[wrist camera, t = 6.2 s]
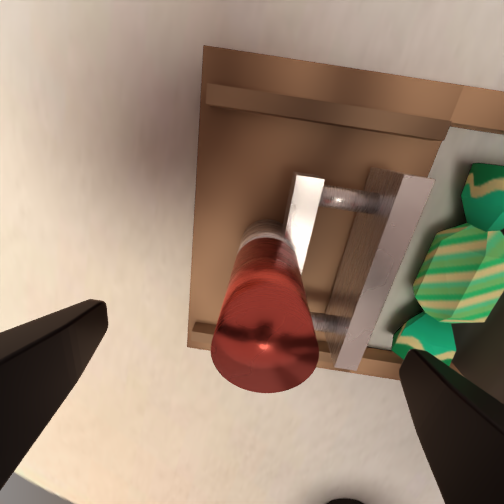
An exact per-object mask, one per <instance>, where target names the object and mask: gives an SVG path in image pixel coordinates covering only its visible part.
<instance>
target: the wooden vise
mask: <svg viewBox="0 0 504 504" xmlns="http://www.w3.org/2000/svg"><path fill="white" fill-rule="evenodd" d="M450 126H451V127H458V128H464V129H471V130H477V131H484V132H490V133H497V134H503V135H504V92H502V91H496V90H489V89H483V88H477V87H470V86H464V85H457V84H451V83H444V82H438V81H431V80H425V79H418V78H412V77H406V76H399V75H393V74H386V73H380V72H373V71H367V70H360V69H354V68H347V67H341V66H335V65H328V64H322V63H315V62H309V61H302V60H296V59H289V58H283V57H276V56H270V55H264V54H257V53H251V52H244V51H238V50H231V49H225V48H218V47H212V46H205V45H204V46H203V64H202V83H201V101H200V119H199V137H198V156H197V174H196V192H195V210H194V229H193V247H192V265H191V283H190V302H189V320H188V338H187V347H190V348H197V349H203V350H210V351H211V342H212V338H213V335H214V332H215V328H216V325H217V321H218V318H219V314H220V311H221V308H222V304H223V301H224V297H225V294H226V290H227V287H228V284H229V280H230V277H231V273H232V270H233V266H234V263H235V259H236V256H237V253H238V249H239V246H240V242H241V239H242V236H243V233H244V231H245V230H246V229H247V228H248V227H249V226H250V225H251V224H252V223H254V222H256V221H259V220H264V219H269V220H275V221H278V222H280V223H281V224H283V222H284V217H285V212H286V207H287V202H288V197H289V192H290V187H291V182H292V177H293V172H301V173H307V174H314V175H319V176H320V177H322V178H323V179H325V181H324V185H330V186H337V187H343V188H349V189H356V190H362V191H364V188H365V184H366V181H367V178H368V175H369V172H370V168H371V167H374V168H381V169H387V170H393V171H398V172H403V173H408V174H412V175H417V176H422V177H426V178H427V177H428V174H429V172H430V169H431V167H432V164H433V162H434V159H435V157H436V154H437V152H438V149H439V147H440V144H441V142H442V141H444V139H445V137H446V134H447V132H448V129H449V127H450ZM356 213H357V212H352V211H346V210H340V209H333V208H327V207H320V206H318V209H317V213H316V217H315V222H314V226H313V230H312V234H311V238H310V242H309V246H308V250H307V254H306V258H305V262H304V266H303V270H302V274H301V277H302V281H303V285H304V289H305V293H306V297H307V301H308V305H309V309H310V312H317V313H323V314H325V313H326V310H327V307H328V303H329V300H330V297H331V294H332V291H333V287H334V284H335V281H336V278H337V274H338V271H339V268H340V265H341V262H342V258H343V255H344V252H345V249H346V246H347V242H348V239H349V236H350V233H351V229H352V226H353V223H354V220H355V217H356ZM500 231H501V232H502V234H503V235H504V228H503V229H502V230H500ZM451 326H452V330H453V335H454V340H455V345H456V352H455V355H454V357H453V359H452V361H451V364H450V366H449V367H451V368H452V369H454V370H455V371H457V372H458V373H459V374H461V375H462V376H464V377H465V378H467V379H468V380H469V381H471V382H472V383H474V384H475V385H477V386H478V387H480V388H481V389H482V390H484V391H485V392H487V393H488V394H490V395H491V396H493V397H494V398H495V399H497V400H498V401H500V402H501V403H503V404H504V291H503V293H502V294H501V296H500V298H499V299H498V301H497V303H496V304H495V306H494V307H493V309H492V311H491V312H490V314H489V315H488V317H487V319H486V320H485V322H476V323H451ZM315 334H316V338H317V342H318V346H319V359H318V363H317V366H316V367H318V368H325V369H331V370H338V371H344V372H350V373H357V374H363V375H370V376H376V377H382V378H389V379H395V380H400V377H399V369H400V366H401V364H402V362H403V359H402V358H401V357H399V356H398V355H397V354H396V353H394V352H393V351H387V350H381V349H375V348H368V347H366V349H365V352H364V354H363V356H362V359H361V361H360V364H359V366H358V368H357V371H354V370H348V369H342V368H335V367H334V365H333V361H332V358H331V354H330V351H329V348H328V344H327V341H326V337H325V334H324V332H322V331H316V330H315Z"/></svg>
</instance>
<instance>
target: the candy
mask: <svg viewBox="0 0 504 504" xmlns="http://www.w3.org/2000/svg"><path fill="white" fill-rule="evenodd" d="M461 198H462V203H463V207H464V212H465V216H466V221H467V223H465V224H462V225H459V226H456V227H452V228H449V229H446V230H443V231H440V232H438V233H436V235H435V238H434V240H433V242H432V244H431V246H430V249H429V251H428V253H427V255H426V257H425V260H424V262H423V264H422V266H421V268H420V271H419V273H418V275H417V277H416V279H415V282H414V284H413V290H414V294H415V298H416V299H417V301H418V302H419V304H420V305H421V307H422V308H423V310H424V312H422V313H420V314H418V315H416V316H415V317H413V318H411V319H409V320H408V321H407V322H406V323H405V324H404V325H403V326H402V327H401V328H400V329H399V330H398V331H397V332H396V333H395V334H394V336H393V342H392V348H391V350H392V351H393V352H394V353H396V354H397V355H398V356H399V357H401V358H402V359H403V360H404V358H405V356H406V354H407V352H408V351H409V350H410V349H420V350H425V351H428V352H429V353H431V354H432V355H433V356H435V357H436V358H438V359H439V360H441V361H442V362H444V363H445V364H446V365H448V366H450V364H451V361H452V359H453V357H454V355H455V352H456V345H455V340H454V335H453V330H452V326H451V323H476V322H485V320H486V319H487V317H488V315H489V314H490V312H491V311H492V309H493V307H494V306H495V304H496V303H497V301H498V299H499V298H500V296H501V294H502V293H503V291H504V235H503V234H502V232H501V231H500V230H502V229H503V228H504V166H500V165H492V164H484V163H473V164H472V167H471V170H470V172H469V175H468V178H467V181H466V183H465V186H464V189H463V192H462V194H461Z"/></svg>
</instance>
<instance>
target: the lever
mask: <svg viewBox="0 0 504 504" xmlns="http://www.w3.org/2000/svg"><path fill="white" fill-rule="evenodd" d="M435 180H436V179H431V178H426V177H422V176H417V175H412V174H408V173H403V172H398V171H393V170H387V169H381V168H374V167H371V168H370V172H369V175H368V178H367V181H366V184H365V188H364V191H362V190H356V189H349V188H343V187H337V186H330V185H324V181H325V179H323V178H322V177H320V176H319V175H314V174H307V173H301V172H293V177H292V182H291V187H290V192H289V197H288V202H287V207H286V212H285V217H284V222H283V224H281V223H280V222H278V221H275V220H269V219H264V220H259V221H256V222H254V223H252V224H251V225H250V226H249V227H248V228H247V229H246V230H245V231H244V233H243V236H242V239H241V242H240V246H239V249H238V253H237V256H236V259H235V263H234V266H233V270H232V273H231V277H230V280H229V284H228V287H227V290H226V294H225V297H224V301H223V304H222V308H221V311H220V314H219V318H218V321H217V325H216V328H215V332H214V335H213V338H212V342H211V357H212V360H213V363H214V365H215V367H216V368H217V370H218V371H219V373H220V374H221V375H222V376H223V377H224V378H225V379H227V380H228V381H229V382H231V383H232V384H234V385H236V386H238V387H240V388H242V389H245V390H249V391H253V392H259V393H275V392H281V391H285V390H289V389H291V388H294V387H296V386H298V385H299V384H301V383H302V382H304V381H305V380H306V379H307V378H308V377H309V376H310V375H311V374H312V373H313V371H314V370H315V368H316V366H317V363H318V359H319V346H318V342H317V338H316V334H315V330H316V331H322V332H324V334H325V337H326V341H327V344H328V348H329V351H330V354H331V358H332V361H333V365H334V367H335V368H342V369H348V370H354V371H357V368H358V366H359V364H360V361H361V359H362V356H363V354H364V352H365V349H366V347H367V344H368V342H369V339H370V337H371V335H372V332H373V330H374V327H375V325H376V323H377V320H378V318H379V315H380V313H381V310H382V308H383V306H384V303H385V301H386V298H387V296H388V294H389V291H390V289H391V286H392V284H393V281H394V279H395V277H396V274H397V272H398V269H399V267H400V265H401V262H402V260H403V257H404V255H405V253H406V250H407V248H408V245H409V243H410V240H411V238H412V236H413V233H414V231H415V228H416V226H417V224H418V221H419V219H420V216H421V214H422V211H423V209H424V207H425V204H426V202H427V199H428V197H429V195H430V192H431V190H432V187H433V185H434V182H435ZM318 206H320V207H327V208H333V209H340V210H346V211H352V212H357V213H356V217H355V220H354V223H353V226H352V229H351V233H350V236H349V239H348V242H347V246H346V249H345V252H344V255H343V258H342V262H341V265H340V268H339V271H338V274H337V278H336V281H335V284H334V287H333V291H332V294H331V297H330V300H329V303H328V307H327V310H326V313H325V314H323V313H317V312H310V309H309V305H308V301H307V297H306V293H305V289H304V285H303V281H302V277H301V274H302V270H303V266H304V262H305V258H306V254H307V250H308V246H309V242H310V238H311V234H312V230H313V226H314V222H315V217H316V213H317V209H318Z"/></svg>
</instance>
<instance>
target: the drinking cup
mask: <svg viewBox="0 0 504 504" xmlns="http://www.w3.org/2000/svg"><path fill="white" fill-rule="evenodd" d="M328 504H363V503H361V502H359V501H356V500H351V499H339V500H334V501H331V502H329V503H328Z"/></svg>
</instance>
